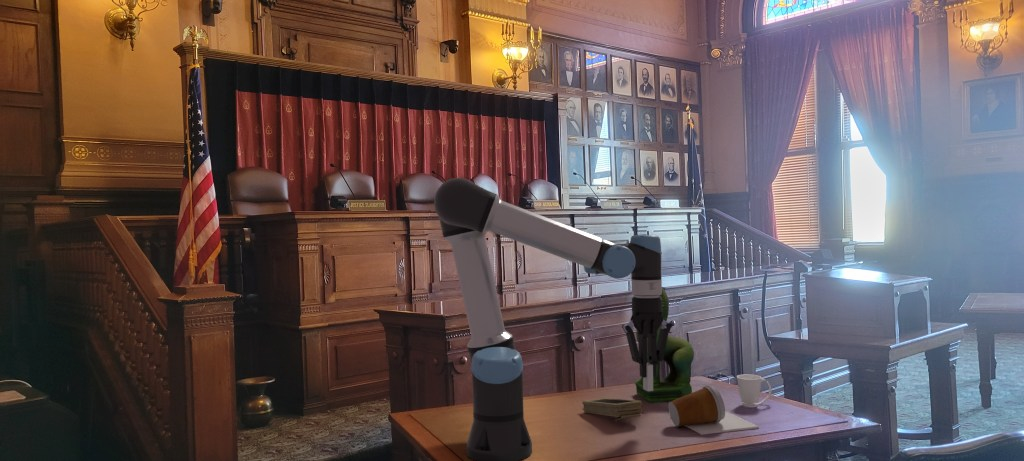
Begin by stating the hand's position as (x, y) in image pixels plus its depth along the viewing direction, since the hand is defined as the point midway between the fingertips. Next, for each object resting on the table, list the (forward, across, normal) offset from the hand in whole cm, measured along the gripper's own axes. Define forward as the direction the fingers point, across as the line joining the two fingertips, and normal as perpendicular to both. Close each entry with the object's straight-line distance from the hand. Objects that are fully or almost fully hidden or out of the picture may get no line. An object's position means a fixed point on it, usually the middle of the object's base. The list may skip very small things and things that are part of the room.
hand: (648, 389), depth 181 cm
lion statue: (+10, +19, +29) cm, 36 cm away
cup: (+10, +38, +12) cm, 41 cm away
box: (+11, -5, +15) cm, 19 cm away
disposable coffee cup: (+7, +6, 0) cm, 9 cm away
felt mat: (+10, +18, 0) cm, 21 cm away
